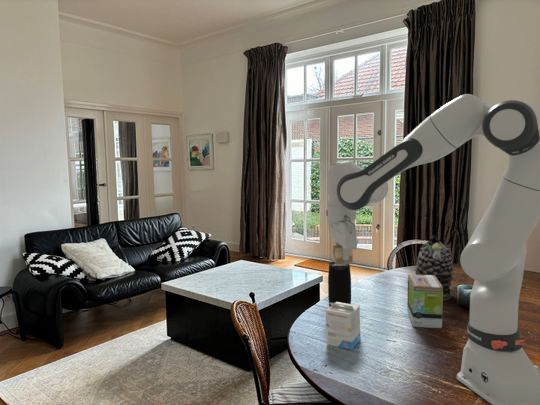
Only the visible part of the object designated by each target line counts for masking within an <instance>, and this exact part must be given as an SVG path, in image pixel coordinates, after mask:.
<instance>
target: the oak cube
mask: <svg viewBox="0 0 540 405" xmlns="http://www.w3.org/2000/svg"><path fill="white" fill-rule="evenodd" d="M342 254H343V249H342V246H341V245H336V244H335V245H332V261H334V262H335V263H336V264H337V265H342V264H350V265H353V264H354V262H353V258H354V257H353V256H354V255H353V254H354V253H353V249H350V252H349V260H343V259H342Z"/></svg>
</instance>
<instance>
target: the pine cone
mask: <svg viewBox="0 0 540 405" xmlns="http://www.w3.org/2000/svg"><path fill="white" fill-rule="evenodd" d="M416 260H417V261H416V267H415V270H414V271H415V273H414V275H435V277H436V278H437V279H438V281H439V282H440V284H441V285H442V287H443V301H449V300H450V299H451V298H452V295H453V294H452V291H453V290H454V286H453V285H452V280H453V279H454V278H453V274H454V273H453V271H454V266H453V263H452V260H453V254H452V251H451V248H449V247H446V244H443V243H442V241H441V240H440V239H438V238H437V235H436V234H432V237H431V238H429V239H428V241H426V243H423V245H422V246H421V247H420V248H419V252H418V255H417V258H416Z"/></svg>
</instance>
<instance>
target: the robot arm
mask: <svg viewBox="0 0 540 405" xmlns="http://www.w3.org/2000/svg"><path fill="white" fill-rule="evenodd" d="M539 131H540V130H539V116H538V113H537V111H536V110H535V108H534V107H533V106H532V105H530V104H529V103H527V102H525V101H523V100H519V99H511V100H510V99H509V100H504V101H501V102H497V103H496V104H495V105H488V104H486V103H485V102H484V100H482V99H481V98H480V97H478V96H476V95H474V94H470V93H464V94H462V95H460V96H457V97H456V98H455V97H454V99H452V100H451V101H449V102H446V103H445V104H443V105H442V106H440V108H438V109H436V110H435V111H433V112H432V113H431V114H430V115H429V116H427V117H426V118H425V119H424V120H422V122H420V123H419V124H418V125H417V126H416V127H415V128H414V129H412V131H410V133H408V134H407V135H406V136H405V137H403V139H402V140H400V141H399V142H397V144H395V146H393V147H392V148H391V149H390V150H388V151H387V152H385V153H384V154H383V155H381V156H379V157H378V158H377V159H375V161H373V162H372V163H370V164H369V165H368V166H366V167H364V168H363V167H361V166H360V165H357V164H356V163H355V161H351V160H344V161H340V162H339V161H338V162H335V163H332V164H331V165H330V166H329V167H328V171H327V182H326V184H327V185H326V190H327V191H326V192H327V194H328V201H327V209H325V210H326V211H325V215H326V217H327V224H328V233H329V237H330V238H331V239H333V241H334V244H335V245H341V246H342V249H343V254H342V259H343V260H349V252H350V249H352V250H356V249H357V248H358V237H357V236H358V234H357V227H356V223H354V222H353V221H356V220H357V211H358V210H360V209H362V208H366V207H368V206H371V205H375V204H377V203H379V202H381V201H383V200H384V199H385V197H386V196H387V194H388V189H389V186H388V182H390V181H391V180H392V179H393V178H394V177H396V176H397V175H399V174H400V173H402V172H404V171H406V170H409V169H410V168H414V167H416V166H420V165H425V164H428V163H429V164H430V163H433V162H436V161H438V160H441V159H442V158H443V157H445V156H447V155H449V154H451V153H452V152H454V151H456V150H457V149H458V148H460V147H461V146H462V145H464V144H465V143H467V142H468V141H469V140H471V139H474V138H476V137H480V136H482V137H484V138H485V139H486V140H487V141H488V142H489V143H490V144H491V145H493V146H494V147H496V148H498V149H499V150H501V151H502V152H504V153H506V154H507V155H508V160H507V165H506V167H505V169H504V172H503V173H502V176H501V178H500V180H499V183H498V185H497V188H496V189H495V192H494V195H493V197H492V199H491V201H490V203H489V206H488V207H487V208H486V211H485V212H484V214H483V215H482V217H481V219H480V221H479V222H478V224H477V226H476V227H475V230H474V231H473V233H472V235H471V236H470V239H469V240H468V242H467V244H466V245H465V246H464V248H463V250H462V252H461V254H460V257H459V259H460V265H461V268H462V270H463V272H464V273H465V274H466V275H467V276H468V277H469V278H471V279H472V280H474V281H473V285H472V289H471V291H470V294H469V320H468V322H467V326H466V330H467V331H466V332H467V334H466V335H467V337H468V338H467V342H466V344H465V345H464V347H463V349H462V350H463V351H462V356H461V357H462V358H461V366H460V371H459V372H458V373H457V374H456V379H457V381H459V382H460V383H462V384H463V385H464V386H466V387H467V388H469V389H470V390H471V391H473V392H474V393H476V394H477V395H478V396H480V397H481V398H482V399H484V400H485V401H487V402H488V403H489V404H491V405H540V367H539V366H538V365H536V364H533V362H532V360H530V357H528V355H527V353H526V352H525V350H524V348H523V345H525V339H522V334H521V333H520V329H519V328H518V326H519V324H518V323H519V303H520V294H521V289H522V286H523V285H522V284H523V277H524V272H525V264H526V256H527V253H528V245H527V240H528V238H529V237H530V236H531V234H532V232H533V231H534V229H535V228H536V226H537V225H538V223H539V221H540V132H539Z"/></svg>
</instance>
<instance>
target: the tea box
mask: <svg viewBox="0 0 540 405" xmlns="http://www.w3.org/2000/svg"><path fill="white" fill-rule="evenodd" d="M443 301H444V300H443V287H442V285H441V284H440V282H439V281H438V279H437V278H436V277H435V275H416V274H411V273H409V274H408V275H407V307H406V308H407V309H406V310H407V313H408V316H409V319H410V322H411V324H412V327H414V328H428V329H429V328H430V329H442V328H443V308H444V307H443V306H444V304H443V303H444V302H443Z"/></svg>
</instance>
